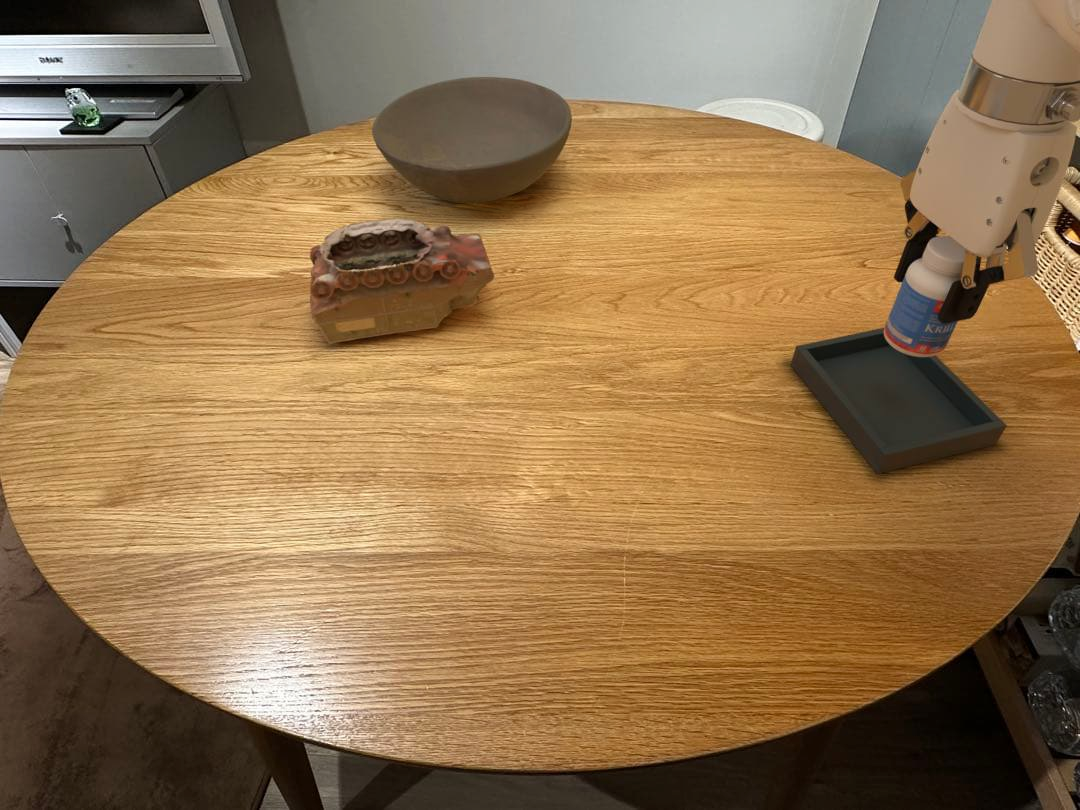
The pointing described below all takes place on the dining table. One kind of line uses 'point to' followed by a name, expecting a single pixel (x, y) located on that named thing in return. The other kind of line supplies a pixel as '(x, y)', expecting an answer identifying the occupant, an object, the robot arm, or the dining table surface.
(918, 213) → the robot arm
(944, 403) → the tray
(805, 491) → the dining table surface
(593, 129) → the dining table surface
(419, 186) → the bowl
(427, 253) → the brown toy tank
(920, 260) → the pill bottle
